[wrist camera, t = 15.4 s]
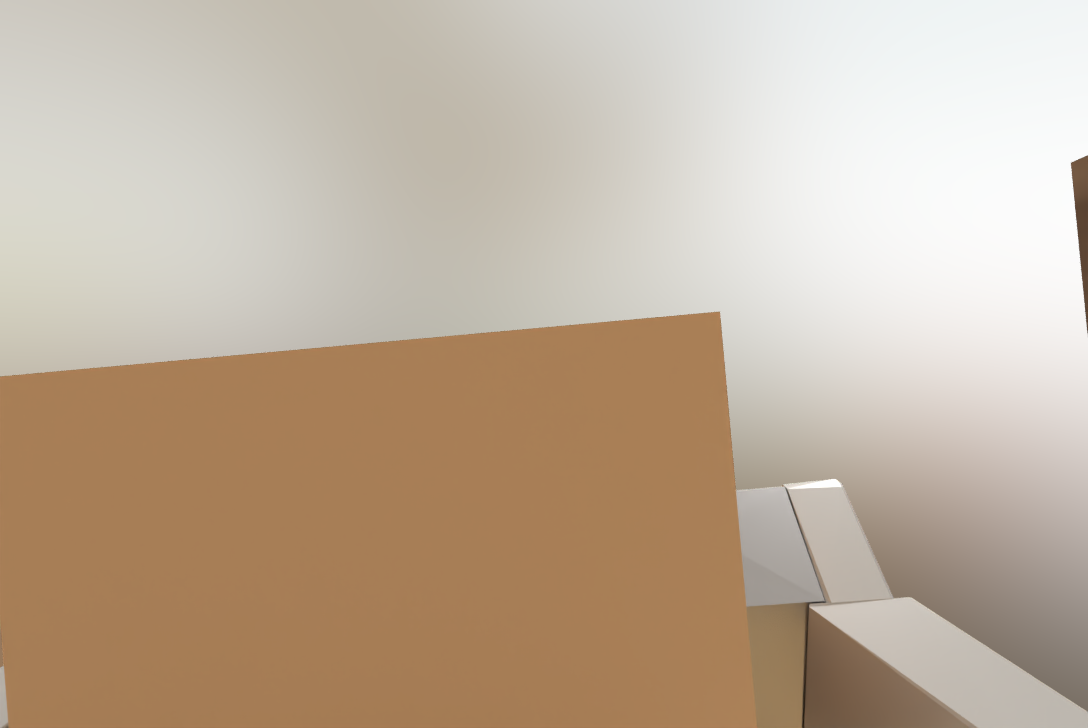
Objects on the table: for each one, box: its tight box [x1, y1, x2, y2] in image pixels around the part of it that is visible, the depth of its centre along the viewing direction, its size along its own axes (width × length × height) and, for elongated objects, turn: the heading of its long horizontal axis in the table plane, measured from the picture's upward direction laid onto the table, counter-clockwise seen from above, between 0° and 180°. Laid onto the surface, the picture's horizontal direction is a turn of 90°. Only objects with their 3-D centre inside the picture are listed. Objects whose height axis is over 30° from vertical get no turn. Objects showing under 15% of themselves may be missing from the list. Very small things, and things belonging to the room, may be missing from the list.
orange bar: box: [0, 312, 757, 728], centre depth 17 cm, size 4×24×4 cm, turn 176°
